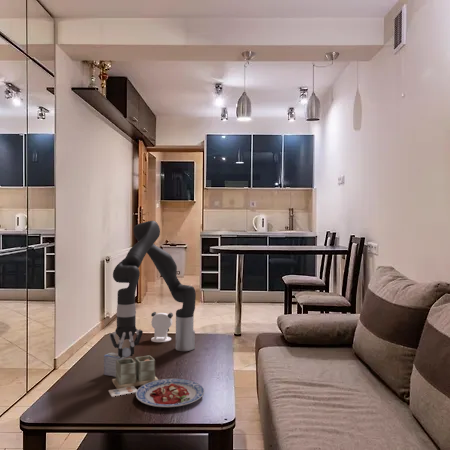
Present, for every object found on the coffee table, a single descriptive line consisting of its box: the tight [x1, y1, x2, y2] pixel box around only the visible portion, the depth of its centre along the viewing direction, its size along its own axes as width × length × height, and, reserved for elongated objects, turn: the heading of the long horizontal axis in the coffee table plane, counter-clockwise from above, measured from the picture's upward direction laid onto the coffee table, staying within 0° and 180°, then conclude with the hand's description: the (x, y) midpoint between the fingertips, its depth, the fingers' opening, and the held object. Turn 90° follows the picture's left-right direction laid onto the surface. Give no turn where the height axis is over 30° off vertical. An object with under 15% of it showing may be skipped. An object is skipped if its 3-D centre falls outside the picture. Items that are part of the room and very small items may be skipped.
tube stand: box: [111, 355, 159, 389], centre depth 173 cm, size 17×9×9 cm, turn 117°
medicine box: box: [103, 352, 125, 378], centre depth 180 cm, size 8×4×9 cm, turn 65°
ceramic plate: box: [135, 378, 205, 408], centre depth 158 cm, size 26×26×3 cm
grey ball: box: [122, 347, 131, 359], centre depth 171 cm, size 4×4×4 cm
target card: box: [108, 386, 138, 398], centre depth 162 cm, size 10×6×1 cm, turn 117°
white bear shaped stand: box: [150, 311, 174, 343], centre depth 235 cm, size 12×11×15 cm
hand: (125, 356), depth 171 cm, fingers closed on grey ball, 3 cm apart
